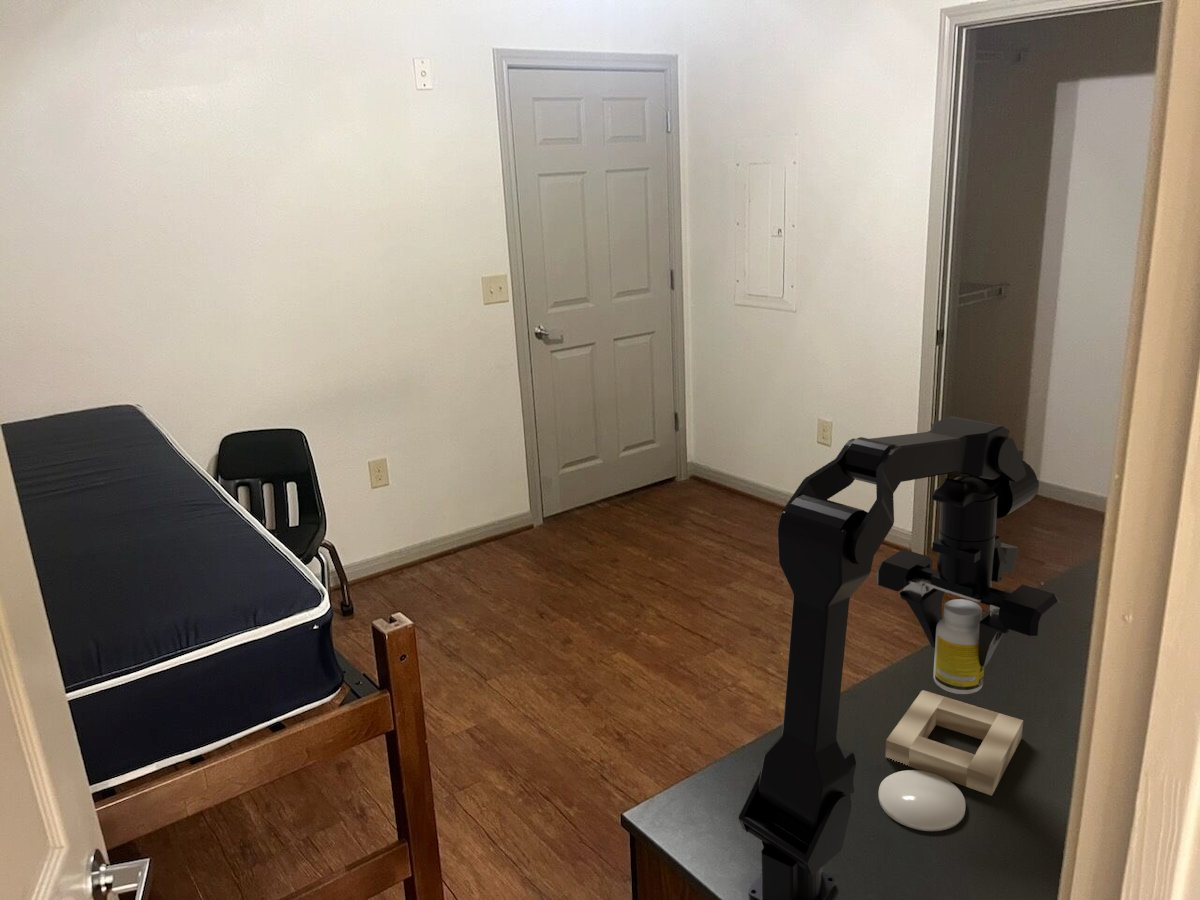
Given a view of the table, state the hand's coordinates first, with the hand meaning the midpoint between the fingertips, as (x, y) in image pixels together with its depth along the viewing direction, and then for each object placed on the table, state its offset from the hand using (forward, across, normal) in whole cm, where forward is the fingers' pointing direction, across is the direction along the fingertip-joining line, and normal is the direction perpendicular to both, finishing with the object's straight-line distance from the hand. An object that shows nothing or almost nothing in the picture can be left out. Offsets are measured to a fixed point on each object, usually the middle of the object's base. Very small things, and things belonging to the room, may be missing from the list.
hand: (959, 655), depth 103 cm
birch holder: (+13, 0, 0) cm, 13 cm away
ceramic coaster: (+13, -2, +11) cm, 17 cm away
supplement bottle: (+4, 0, 0) cm, 4 cm away
